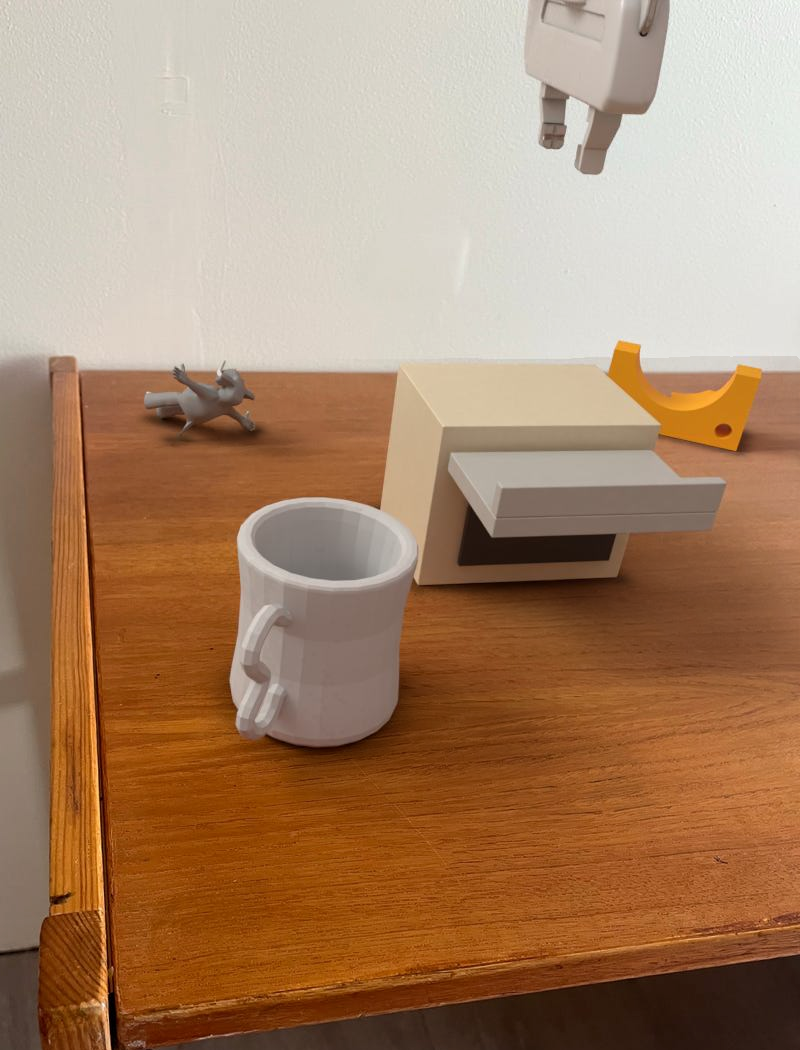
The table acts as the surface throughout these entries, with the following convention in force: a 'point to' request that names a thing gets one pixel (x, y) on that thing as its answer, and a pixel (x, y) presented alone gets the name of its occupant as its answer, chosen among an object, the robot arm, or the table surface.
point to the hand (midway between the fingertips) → (567, 159)
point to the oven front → (529, 473)
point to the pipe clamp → (689, 401)
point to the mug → (320, 620)
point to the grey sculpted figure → (203, 399)
